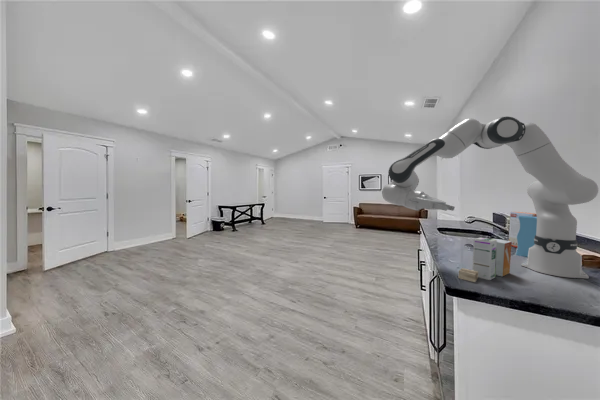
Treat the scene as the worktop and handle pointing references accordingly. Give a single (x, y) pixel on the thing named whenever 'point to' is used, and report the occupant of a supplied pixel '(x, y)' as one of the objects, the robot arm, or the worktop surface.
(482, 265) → the syrup box
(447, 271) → the worktop surface
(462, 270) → the maple block
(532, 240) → the vase
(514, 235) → the cracker box
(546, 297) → the worktop surface
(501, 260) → the small box
